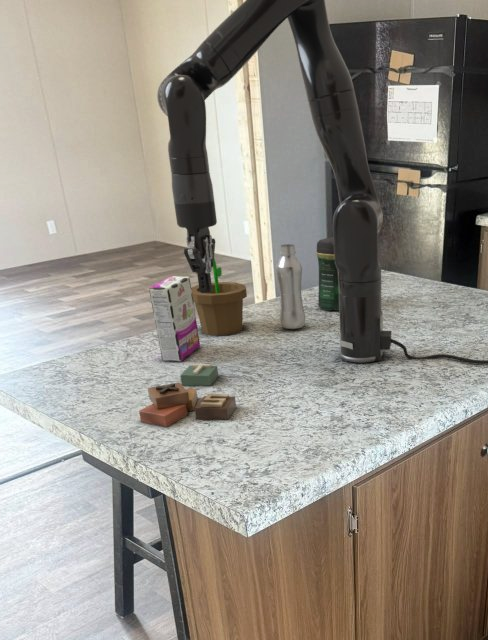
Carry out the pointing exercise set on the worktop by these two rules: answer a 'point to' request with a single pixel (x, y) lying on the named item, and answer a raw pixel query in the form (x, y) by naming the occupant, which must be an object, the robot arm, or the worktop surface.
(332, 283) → the coffee jar
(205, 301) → the flowerpot
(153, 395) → the letter pile
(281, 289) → the silver metal bottle
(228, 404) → the letter S
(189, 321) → the candy bar box
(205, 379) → the letter T
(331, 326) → the worktop surface
